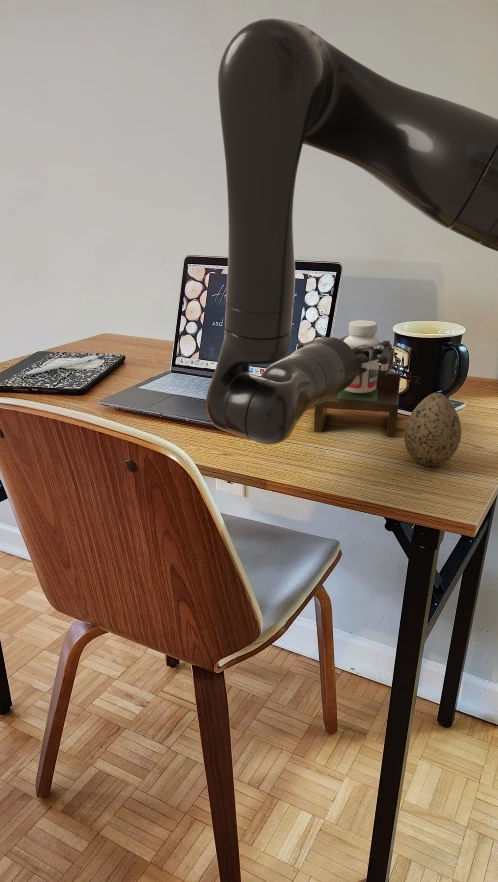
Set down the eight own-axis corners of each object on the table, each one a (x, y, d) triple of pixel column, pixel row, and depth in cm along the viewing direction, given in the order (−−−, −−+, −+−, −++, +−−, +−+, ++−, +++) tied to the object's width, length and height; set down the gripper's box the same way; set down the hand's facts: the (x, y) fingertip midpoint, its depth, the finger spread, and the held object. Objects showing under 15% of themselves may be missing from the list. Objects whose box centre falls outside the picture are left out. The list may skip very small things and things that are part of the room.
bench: (395, 418, 108) (400, 372, 105) (395, 437, 101) (400, 388, 98) (319, 413, 111) (321, 368, 108) (313, 431, 104) (316, 383, 101)
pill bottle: (366, 381, 106) (372, 317, 102) (382, 392, 101) (389, 325, 97) (333, 384, 105) (338, 320, 101) (348, 395, 100) (354, 328, 96)
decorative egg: (395, 469, 91) (403, 397, 87) (407, 450, 97) (415, 382, 92) (451, 479, 88) (462, 405, 84) (460, 458, 94) (470, 388, 90)
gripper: (371, 351, 85) (418, 325, 97) (270, 337, 92) (325, 314, 104) (366, 409, 88) (411, 376, 101) (268, 391, 95) (322, 362, 108)
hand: (367, 345), depth 102 cm, fingers closed on pill bottle, 5 cm apart
